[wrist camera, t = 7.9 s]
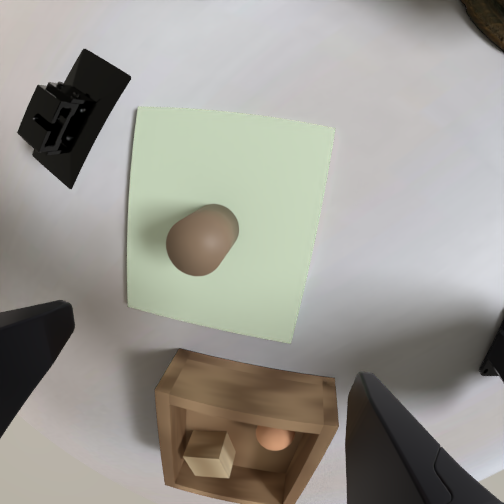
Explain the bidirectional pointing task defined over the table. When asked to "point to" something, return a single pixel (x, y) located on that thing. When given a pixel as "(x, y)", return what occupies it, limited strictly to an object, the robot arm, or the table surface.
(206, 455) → the beech block
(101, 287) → the table surface
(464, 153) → the table surface
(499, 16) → the owl figurine
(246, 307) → the lid
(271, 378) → the walnut box
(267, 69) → the table surface
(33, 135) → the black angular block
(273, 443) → the terracotta ball
